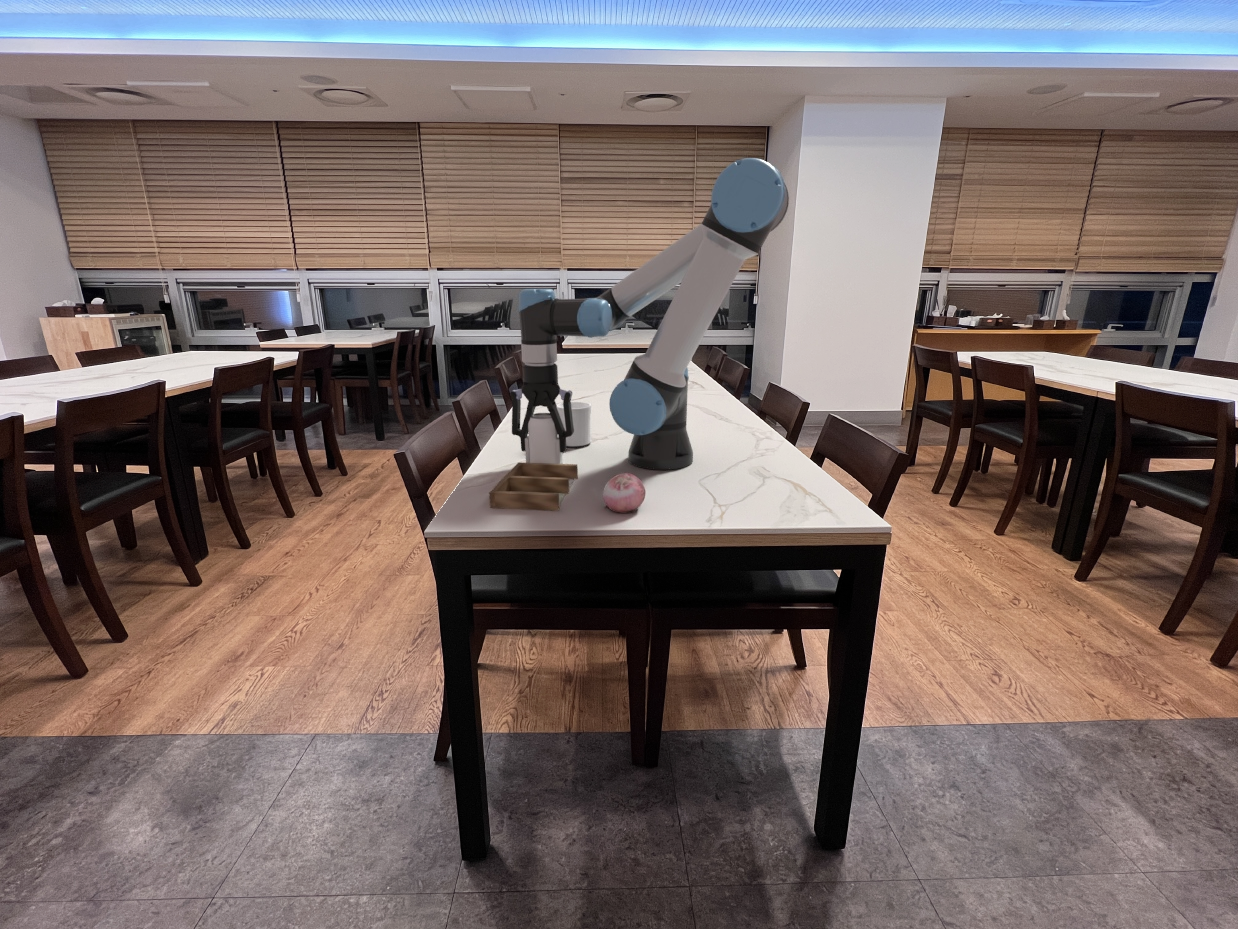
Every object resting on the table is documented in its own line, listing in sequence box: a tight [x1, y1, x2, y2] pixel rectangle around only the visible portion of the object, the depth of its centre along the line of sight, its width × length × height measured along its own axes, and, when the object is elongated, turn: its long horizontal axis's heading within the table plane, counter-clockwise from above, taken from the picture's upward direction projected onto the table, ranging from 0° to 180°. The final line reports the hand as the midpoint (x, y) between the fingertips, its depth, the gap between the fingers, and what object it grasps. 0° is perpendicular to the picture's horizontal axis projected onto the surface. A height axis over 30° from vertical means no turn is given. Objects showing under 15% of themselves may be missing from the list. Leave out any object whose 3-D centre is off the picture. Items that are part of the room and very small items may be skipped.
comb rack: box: [488, 462, 579, 511], centre depth 118 cm, size 13×19×3 cm
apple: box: [602, 472, 647, 514], centre depth 108 cm, size 8×8×7 cm
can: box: [528, 412, 558, 464], centre depth 132 cm, size 6×6×12 cm
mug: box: [556, 401, 592, 449], centre depth 151 cm, size 11×9×10 cm
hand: (544, 465), depth 133 cm, fingers closed on can, 6 cm apart
